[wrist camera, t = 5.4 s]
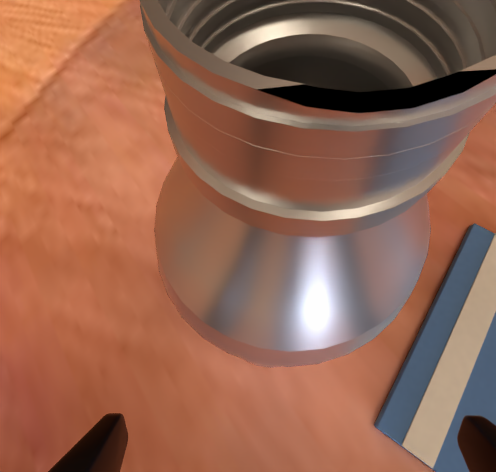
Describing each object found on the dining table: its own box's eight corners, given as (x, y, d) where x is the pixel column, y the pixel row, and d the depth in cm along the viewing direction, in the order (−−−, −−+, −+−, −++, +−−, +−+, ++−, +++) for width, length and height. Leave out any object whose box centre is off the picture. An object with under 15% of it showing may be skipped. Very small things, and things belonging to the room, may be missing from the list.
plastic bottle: (335, 302, 21) (828, -125, 3) (282, 390, 19) (830, 908, 1) (259, 252, 23) (260, -221, 5) (202, 328, 21) (-223, 28, 2)
